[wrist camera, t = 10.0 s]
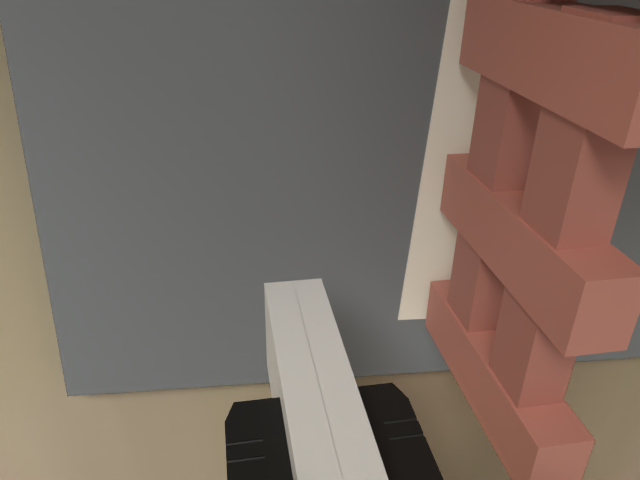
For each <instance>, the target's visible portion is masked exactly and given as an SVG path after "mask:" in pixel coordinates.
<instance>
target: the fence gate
mask: <svg viewBox="0 0 640 480" xmlns="http://www.w3.org/2000/svg"><path fill="white" fill-rule="evenodd" d="M459 63H460V64H462V65H464V66H466V67H468V68H469V69H471V70H473V71H475V72H477V73H479V74H481V77H480V83H479V90H478V97H477V103H476V110H475V117H474V124H473V130H472V137H471V144H470V151H469V153H463V154H447V160H446V168H445V175H444V183H443V191H442V198H441V206H440V210H441V212H442V213H443V214H444V215H445V216H446V217H447V219H448V220H449V221H450V222H451V223H452V225H453V226H454V227H455V228H456V229H457V238H456V245H455V252H454V258H453V265H452V272H451V279H450V280H439V281H431V283H430V291H429V299H428V307H427V314H426V322H425V326H426V328H427V330H428V331H429V333H430V335H431V337H432V339H433V340H434V342H435V344H436V346H437V347H438V349H439V351H440V353H441V355H442V356H443V358H444V360H445V362H446V364H447V365H448V367H449V369H450V371H451V372H452V374H453V376H454V378H455V380H456V381H457V383H458V385H459V387H460V389H461V390H462V392H463V394H464V396H465V398H466V399H467V401H468V403H469V405H470V406H471V408H472V410H473V412H474V414H475V415H476V417H477V419H478V421H479V423H480V424H481V426H482V428H483V430H484V431H485V433H486V435H487V437H488V439H489V440H490V442H491V444H492V446H493V448H494V449H495V451H496V453H497V455H498V456H499V458H500V460H501V462H502V464H503V465H504V467H505V469H506V471H507V473H508V474H509V476H510V478H511V480H582V478H583V475H584V472H585V469H586V466H587V463H588V460H589V457H590V455H591V452H592V449H593V446H594V443H595V439H594V438H593V436H592V435H591V434H590V432H589V431H588V430H587V429H586V427H585V426H584V425H583V423H582V422H581V421H580V419H579V418H578V417H577V416H576V414H575V413H574V412H573V410H572V409H571V408H570V406H569V405H568V404H567V403H566V401H565V400H564V397H565V393H566V390H567V387H568V383H569V380H570V376H571V373H572V370H573V366H574V363H575V359H576V356H579V355H588V354H597V353H606V352H615V351H624V350H627V348H628V345H629V342H630V339H631V336H632V333H633V330H634V328H635V325H636V322H637V319H638V316H639V313H640V266H639V265H638V264H636V263H635V262H634V261H633V260H631V259H630V258H629V257H627V256H626V255H625V254H623V253H622V252H621V251H620V250H618V249H617V248H616V247H614V246H613V245H612V244H611V243H610V241H611V238H612V234H613V231H614V227H615V224H616V221H617V217H618V214H619V210H620V207H621V204H622V200H623V197H624V193H625V190H626V187H627V183H628V180H629V177H630V173H631V170H632V166H633V163H634V160H635V156H636V153H637V149H638V148H640V9H636V8H631V7H625V6H620V5H589V4H584V3H579V2H577V0H467V5H466V13H465V21H464V29H463V36H462V44H461V52H460V59H459Z"/></svg>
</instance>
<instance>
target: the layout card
mask: <svg viewBox="0 0 640 480" xmlns="http://www.w3.org/2000/svg"><path fill="white" fill-rule="evenodd" d="M577 2H579V3H584V4H589V5H620V6H625V7H631V8H636V9H640V0H577ZM466 5H467V0H0V23H1V28H2V34H3V40H4V45H5V51H6V56H7V62H8V67H9V73H10V79H11V84H12V90H13V95H14V101H15V106H16V112H17V118H18V123H19V129H20V134H21V140H22V146H23V151H24V157H25V162H26V168H27V173H28V179H29V185H30V190H31V196H32V201H33V207H34V212H35V218H36V224H37V229H38V235H39V240H40V246H41V252H42V257H43V263H44V268H45V274H46V279H47V285H48V291H49V296H50V302H51V307H52V313H53V318H54V324H55V330H56V335H57V341H58V346H59V352H60V357H61V363H62V369H63V374H64V380H65V385H66V391H67V396H80V395H94V394H109V393H124V392H139V391H153V390H168V389H183V388H198V387H213V386H227V385H242V384H257V383H270V382H269V375H268V368H267V351H266V322H265V294H264V283H271V282H283V281H295V280H307V279H319V278H321V279H322V282H323V285H324V288H325V291H326V294H327V297H328V300H329V303H330V306H331V309H332V312H333V315H334V318H335V321H336V324H337V327H338V330H339V333H340V336H341V339H342V342H343V345H344V348H345V351H346V354H347V357H348V360H349V363H350V366H351V369H352V372H353V375H354V377H360V376H375V375H390V374H405V373H420V372H434V371H449V370H450V369H449V367H448V365H447V364H446V362H445V360H444V358H443V356H442V355H441V353H440V351H439V349H438V347H437V346H436V344H435V342H434V340H433V339H432V337H431V335H430V333H429V331H428V330H427V328H426V326H425V322H426V314H427V307H428V299H429V291H430V283H431V281H439V280H450V279H451V272H452V265H453V258H454V252H455V245H456V238H457V229H456V228H455V227H454V226H453V225H452V223H451V222H450V221H449V220H448V219H447V217H446V216H445V215H444V214H443V213H442V212H441V210H440V206H441V198H442V191H443V183H444V175H445V168H446V160H447V154H463V153H469V151H470V144H471V137H472V130H473V124H474V117H475V110H476V103H477V97H478V90H479V83H480V77H481V74H479V73H477V72H475V71H473V70H471V69H469V68H468V67H466V66H464V65H462V64H460V63H459V59H460V52H461V44H462V36H463V29H464V21H465V13H466ZM610 243H611V244H612V245H613V246H614V247H616V248H617V249H618V250H620V251H621V252H622V253H623V254H625V255H626V256H627V257H629V258H630V259H631V260H633V261H634V262H635V263H636V264H638V265H639V266H640V148H638V149H637V153H636V156H635V160H634V163H633V166H632V170H631V173H630V177H629V180H628V183H627V187H626V190H625V193H624V197H623V200H622V204H621V207H620V210H619V214H618V217H617V221H616V224H615V227H614V231H613V234H612V238H611V241H610ZM626 358H640V313H639V316H638V319H637V322H636V325H635V328H634V330H633V333H632V336H631V339H630V342H629V345H628V348H627V350H624V351H615V352H606V353H597V354H588V355H579V356H576V359H575V362H582V361H597V360H612V359H626Z"/></svg>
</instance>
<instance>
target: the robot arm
mask: <svg viewBox="0 0 640 480" xmlns="http://www.w3.org/2000/svg"><path fill="white" fill-rule="evenodd" d="M264 294H265V322H266V351H267V368H268V375H269V382H270V389H271V396H272V398H268V399H260V400H251V401H242V402H234V403H233V405H232V408H231V410H230V412H229V414H228V416H227V418H226V420H225V436H226V459H227V480H443V478H442V475H441V473H440V471H439V468H438V466H437V464H436V461H435V459H434V457H433V455H432V452H431V450H430V448H429V445H428V443H427V441H426V438H425V437H424V436H423V431H422V429H421V427H420V424H419V422H418V421H417V419H416V415H415V413H414V411H413V408H412V406H411V404H410V401H409V399H408V398H407V397H406V396H405V395H404V394H403V393H402V392H401V391H400V390H399V389H398V388H397V387H396V386H395V385H394V384H393V383H386V384H377V385H369V386H360V387H357V384H356V381H355V378H354V375H353V372H352V369H351V366H350V363H349V360H348V357H347V354H346V351H345V348H344V345H343V342H342V339H341V336H340V333H339V330H338V327H337V324H336V321H335V318H334V315H333V312H332V309H331V306H330V303H329V300H328V297H327V294H326V291H325V288H324V285H323V282H322V279H321V278H319V279H307V280H295V281H283V282H271V283H264Z"/></svg>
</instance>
